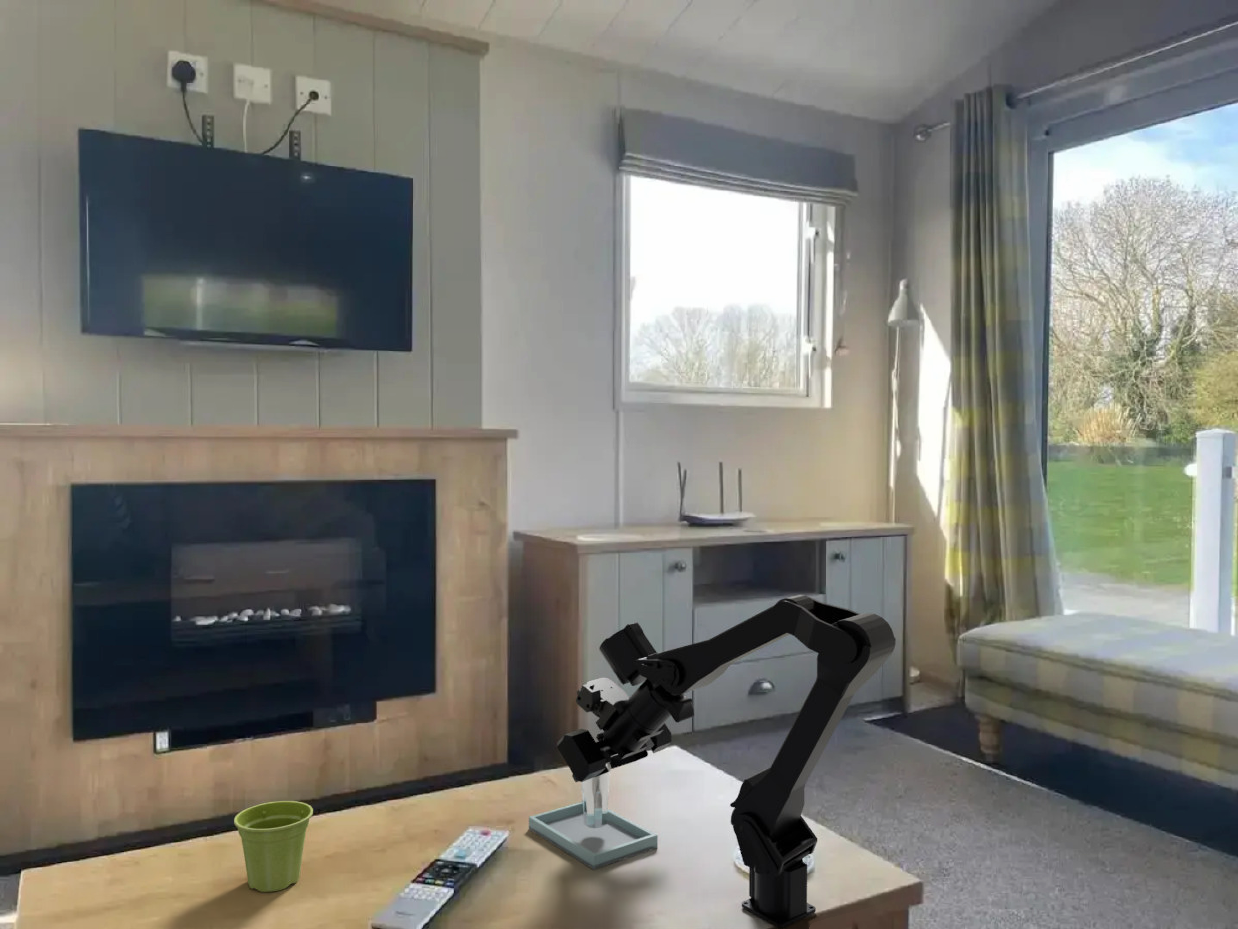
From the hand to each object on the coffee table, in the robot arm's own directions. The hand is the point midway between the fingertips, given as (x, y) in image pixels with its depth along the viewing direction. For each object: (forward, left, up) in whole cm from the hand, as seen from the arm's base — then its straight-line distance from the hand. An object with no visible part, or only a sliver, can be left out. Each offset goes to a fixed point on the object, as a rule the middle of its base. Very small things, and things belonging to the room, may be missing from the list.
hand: (585, 774), depth 131 cm
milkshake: (-1, 0, -7) cm, 7 cm away
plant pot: (+13, +40, -9) cm, 43 cm away
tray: (-1, 0, -9) cm, 9 cm away
